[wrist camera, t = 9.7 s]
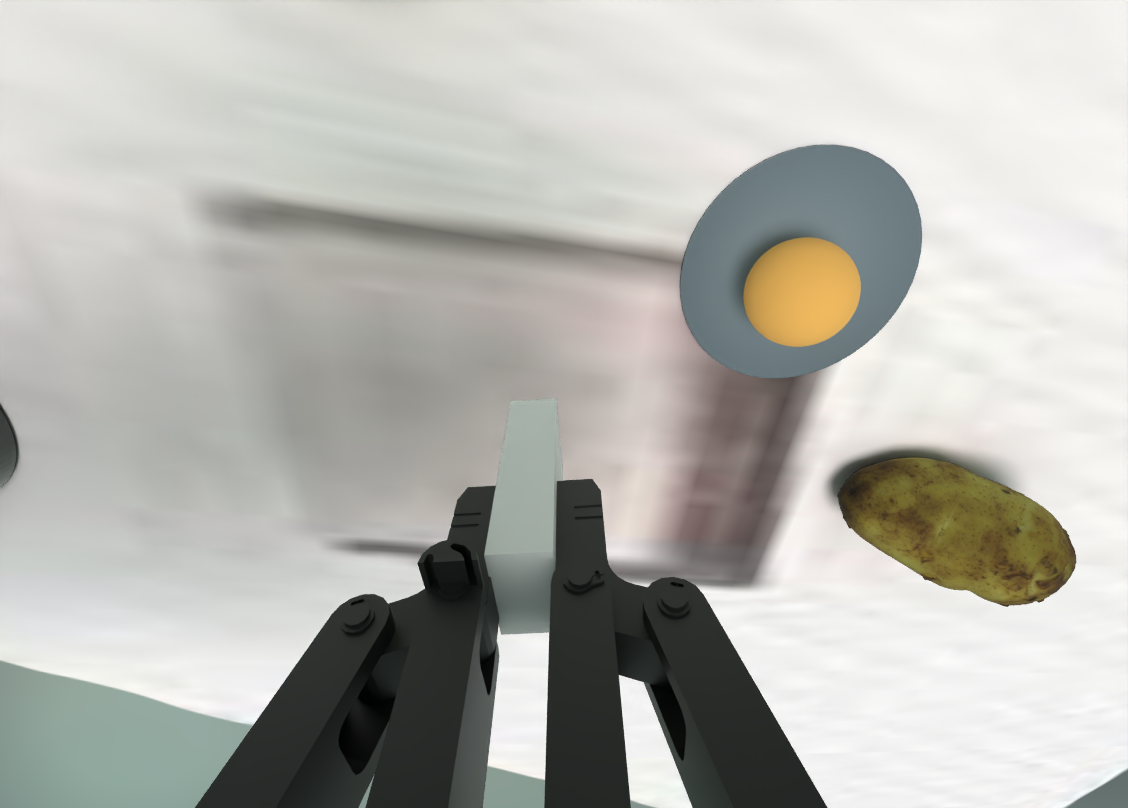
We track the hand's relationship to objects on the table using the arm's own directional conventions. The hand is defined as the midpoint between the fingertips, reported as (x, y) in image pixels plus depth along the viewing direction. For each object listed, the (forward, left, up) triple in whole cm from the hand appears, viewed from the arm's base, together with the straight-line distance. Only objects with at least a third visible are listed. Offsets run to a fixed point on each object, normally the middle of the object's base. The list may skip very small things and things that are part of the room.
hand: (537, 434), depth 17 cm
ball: (+13, -4, -12) cm, 18 cm away
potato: (+20, -22, -15) cm, 33 cm away
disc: (+14, -4, -14) cm, 20 cm away
